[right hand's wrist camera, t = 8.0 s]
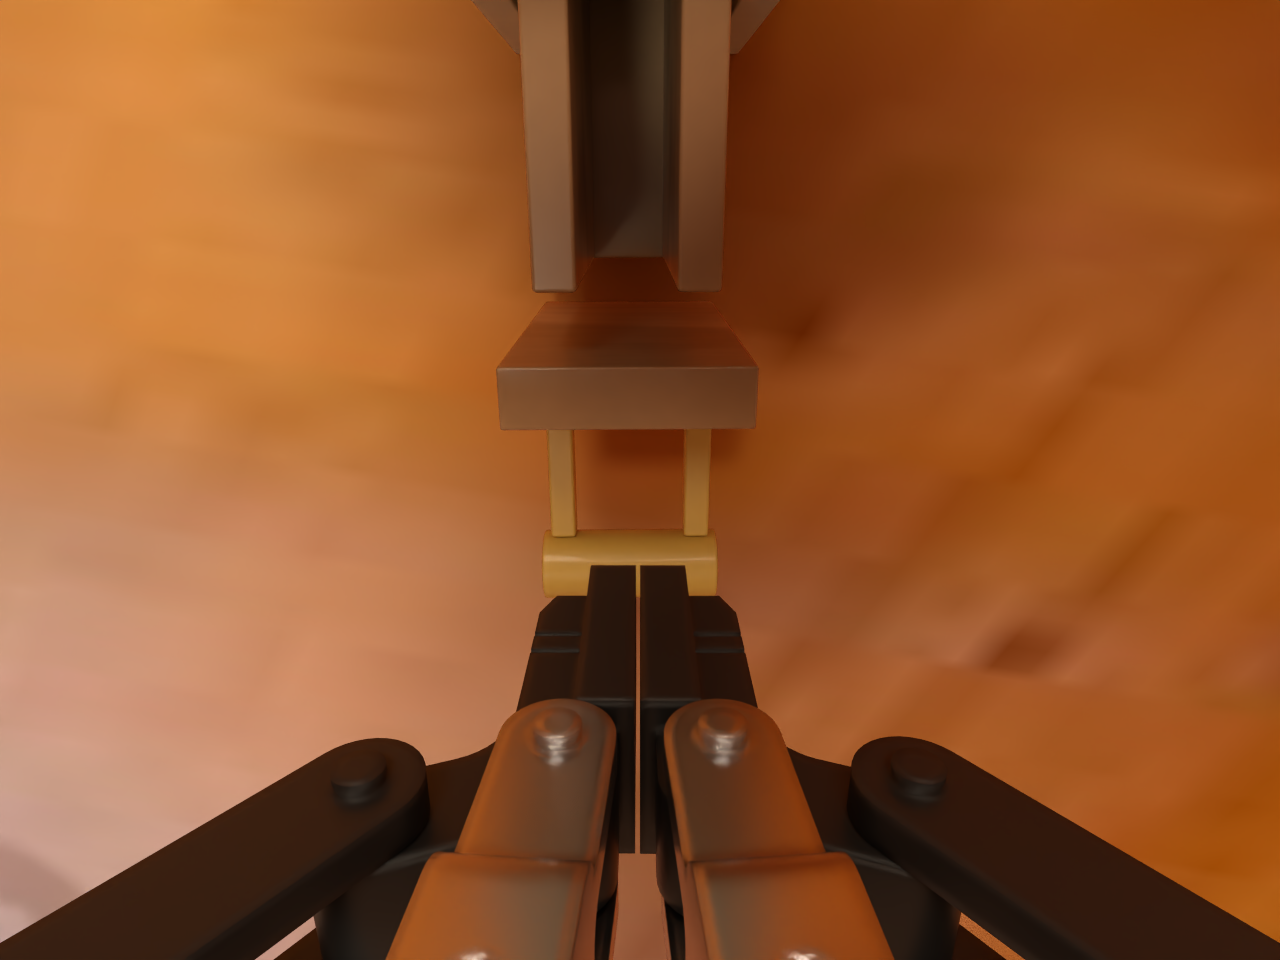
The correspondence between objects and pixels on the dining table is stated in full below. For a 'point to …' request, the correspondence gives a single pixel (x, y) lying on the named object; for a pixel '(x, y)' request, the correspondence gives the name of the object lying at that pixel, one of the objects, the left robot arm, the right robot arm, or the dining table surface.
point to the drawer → (626, 227)
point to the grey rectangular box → (746, 16)
